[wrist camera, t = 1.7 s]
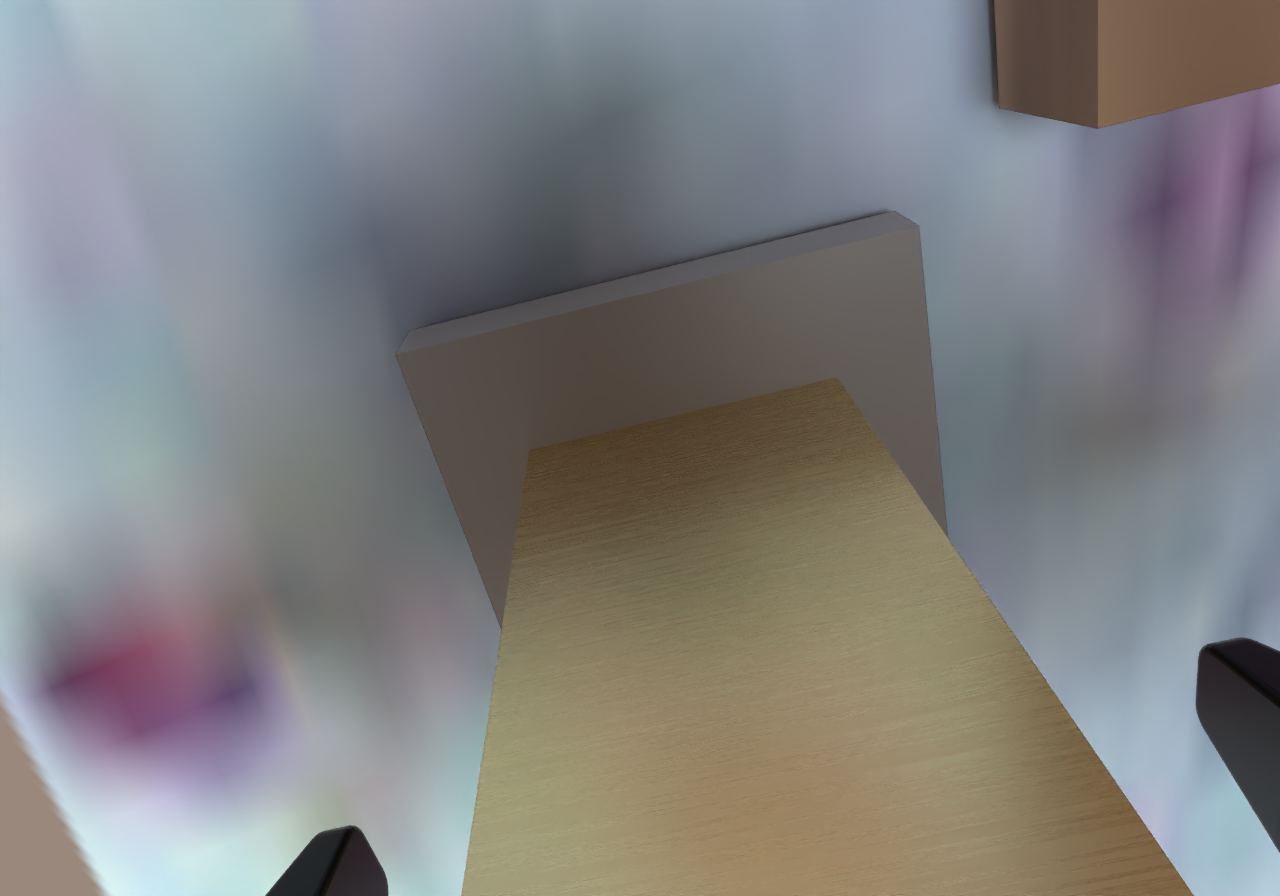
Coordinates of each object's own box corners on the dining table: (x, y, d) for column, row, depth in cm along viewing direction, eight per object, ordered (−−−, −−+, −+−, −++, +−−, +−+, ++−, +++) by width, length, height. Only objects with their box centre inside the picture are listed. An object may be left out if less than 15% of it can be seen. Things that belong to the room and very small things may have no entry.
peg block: (836, 377, 12) (1203, 909, 5) (873, 626, 14) (1172, 1272, 7) (528, 450, 12) (438, 1057, 5) (606, 684, 14) (618, 1365, 7)
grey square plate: (894, 211, 12) (919, 225, 11) (940, 654, 16) (962, 693, 15) (409, 330, 12) (395, 354, 12) (561, 736, 16) (559, 778, 15)
